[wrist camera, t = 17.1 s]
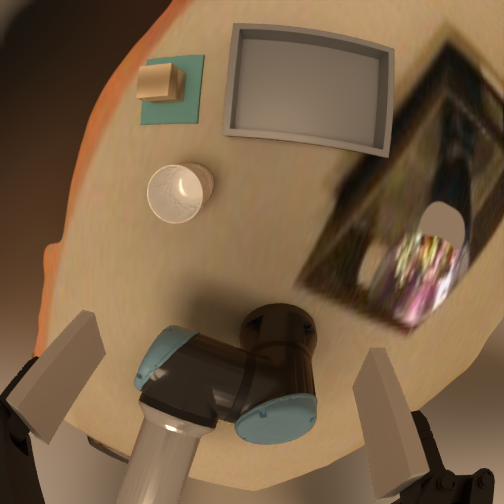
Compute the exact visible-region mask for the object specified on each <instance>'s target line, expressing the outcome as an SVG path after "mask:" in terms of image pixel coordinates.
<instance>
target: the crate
mask: <svg viewBox="0 0 504 504" xmlns="http://www.w3.org/2000/svg"><path fill="white" fill-rule="evenodd" d="M394 74H395V54H394V49H393V48H390V47H387V46H383V45H380V44H377V43H373V42H370V41H366V40H362V39H358V38H354V37H350V36H346V35H341V34H336V33H331V32H326V31H320V30H314V29H307V28H300V27H292V26H282V25H269V24H246V23H233V31H232V39H231V47H230V56H229V65H228V75H227V85H226V96H225V107H224V118H223V131H222V135H223V136H230V137H247V138H259V139H271V140H280V141H289V142H298V143H305V144H312V145H319V146H326V147H332V148H338V149H344V150H349V151H354V152H360V153H365V154H369V155H374V156H380V157H386V158H388V157H389V149H390V140H391V130H392V118H393V102H394Z"/></svg>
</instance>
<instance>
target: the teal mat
mask: <svg viewBox="0 0 504 504" xmlns="http://www.w3.org/2000/svg"><path fill="white" fill-rule="evenodd" d="M204 57H205V55H188V56H176V57H166V58H157V59H150V60H147V65H146V66H149V65H157V64H166V63H172V64H174V65H175V66H176V67H178V68H179V69H181V70H182V71H183V72H185V73H186V84H185V94H184V102H175V103H158V104H155V103H151V102H148V101H144V100H142V111H141V125H149V124H175V123H198V116H199V105H200V94H201V84H202V74H203V65H204Z"/></svg>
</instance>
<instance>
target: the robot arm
mask: <svg viewBox="0 0 504 504" xmlns="http://www.w3.org/2000/svg"><path fill="white" fill-rule="evenodd" d="M316 343H317V332H316V327H315V324H314V321H313V320H312V318H311V317H310V316H309V315H308V314H307V313H306V312H305V311H303V310H302V309H300V308H298V307H295V306H292V305H288V304H271V305H266V306H263V307H260V308H258V309H256V310H255V311H253V312H252V313H250V314H249V315H248V316H247V317H246V319H245V320H244V322H243V324H242V327H241V332H240V346H241V349H240V348H237V347H234V346H231V345H229V344H226V343H223V342H220V341H218V340H215V339H212V338H210V337H207V336H204V335H202V334H200V332H198V331H195V332H194V331H191V330H188V329H185V328H182V327H180V326H175V325H173V326H169V327H167V328H165V329H164V330H163V331H162V332H161V333H160V334H159V335H158V337H157V338H156V339H155V341H154V342H153V343H152V345H151V347H150V348H149V350H148V351H147V353H146V355H145V357H144V359H143V361H142V363H141V365H140V367H139V369H138V373H137V375H136V377H135V380H134V385H135V387H136V388H137V389H138V390H139V391H142V393H141V396H140V399H139V402H138V403H139V405H140V407H141V409H142V411H143V413H144V419H143V422H142V425H141V427H140V430H139V433H138V436H137V439H136V442H135V445H134V448H133V451H132V454H131V457H130V460H129V463H128V466H127V469H126V472H125V475H124V478H123V482H122V485H121V488H120V491H119V495H118V498H117V501H116V504H178V503H179V500H180V497H181V495H182V492H183V489H184V486H185V483H186V480H187V477H188V474H189V471H190V468H191V465H192V462H193V460H194V457H195V454H196V451H197V448H198V445H199V442H200V439H201V437H202V436H204V435H205V434H208V433H210V432H212V431H214V430H215V428H216V425H217V422H218V420H219V419H220V420H224V421H227V422H230V423H234V424H235V430H236V433H237V435H238V436H239V437H241V438H242V439H243V440H245V441H247V442H251V443H255V444H264V445H271V444H280V443H285V442H288V441H292V440H295V439H297V438H299V437H301V436H303V435H305V434H306V433H307V432H309V431H310V430H311V429H312V427H313V426H314V424H315V422H316V419H317V397H316V394H315V385H314V378H313V370H312V363H311V359H312V356H313V353H314V350H315V347H316ZM105 354H106V352H105V349H104V346H103V343H102V339H101V336H100V332H99V329H98V325H97V321H96V318H95V314H94V313H93V312H89V311H85V310H82V311H81V312H80V313H79V314H78V315H77V317H76V318H75V319H74V320H73V321H72V322H71V323H70V324H69V325H68V326H67V327H66V328H65V329H64V330H63V331H62V333H61V334H60V335H59V336H58V337H57V338H56V339H55V340H54V341H53V343H52V344H51V345H50V346H49V347H48V348H47V349H46V350H45V352H44V353H43V354H42V355H41V356H40V357H37V356H36V357H34V358H33V359H31V360H29V361H28V362H27V363H26V364H25V365H24V367H23V368H22V370H20V371H19V373H18V374H17V376H16V377H14V379H13V380H12V381H11V382H10V384H9V385H8V386H7V387H6V389H5V390H4V391H3V392H2V394H1V395H0V504H45V501H44V498H43V494H42V491H41V487H40V483H39V480H38V475H37V471H36V467H35V462H34V457H33V451H32V445H31V439H30V436H29V434H28V433H29V432H30V431H31V432H32V433H33V434H34V436H35V437H36V438H38V439H39V440H41V441H42V442H44V443H46V444H47V445H49V443H50V441H51V439H52V437H53V436H54V434H55V432H56V431H57V429H58V427H59V425H60V424H61V422H62V421H63V419H64V417H65V416H66V414H67V412H68V411H69V409H70V408H71V406H72V404H73V403H74V401H75V400H76V398H77V397H78V395H79V393H80V392H81V390H82V389H83V387H84V386H85V384H86V383H87V381H88V380H89V378H90V377H91V375H92V374H93V372H94V371H95V369H96V368H97V366H98V365H99V363H100V362H101V360H102V359H103V357H104V356H105ZM353 392H354V396H355V400H356V404H357V409H358V413H359V417H360V422H361V427H362V431H363V436H364V441H365V446H366V451H367V456H368V462H369V467H370V472H371V479H372V485H373V491H374V498H375V501H380V500H385V499H389V498H392V497H394V496H396V495H397V494H398V493H400V498H399V499H398V500H396V501H395V502H393V503H391V504H492V503H493V494H494V483H495V480H494V475H493V473H492V472H491V471H490V470H489V469H487V468H482V469H480V470H478V471H477V472H475V473H474V474H473V475H455V474H454V473H453V472H451V471H450V470H446V469H445V468H444V465H443V463H442V460H441V457H440V454H439V451H438V448H437V445H436V442H435V439H434V438H433V434H432V431H430V426H429V423H428V421H427V419H426V417H425V416H424V415H423V414H422V413H421V412H420V411H413V412H410V409H409V407H408V404H407V401H406V399H405V396H404V394H403V391H402V388H401V386H400V383H399V381H398V379H397V376H396V374H395V371H394V369H393V366H392V364H391V362H390V359H389V357H388V355H387V352H386V350H385V348H370V349H369V352H368V354H367V356H366V359H365V361H364V363H363V365H362V368H361V370H360V372H359V374H358V376H357V378H356V380H355V382H354V385H353Z"/></svg>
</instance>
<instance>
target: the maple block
mask: <svg viewBox="0 0 504 504" xmlns="http://www.w3.org/2000/svg"><path fill="white" fill-rule="evenodd" d="M185 84H186V73H185V72H183V71H182V70H181V69H179V68H178V67H176V66H175V65H174V64H172V63H166V64H157V65H149V66H142V67H140V68H139V75H138V84H137V93H136V99H140V100H144V101H148V102H151V103H155V104H158V103H175V102H184V94H185Z"/></svg>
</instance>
